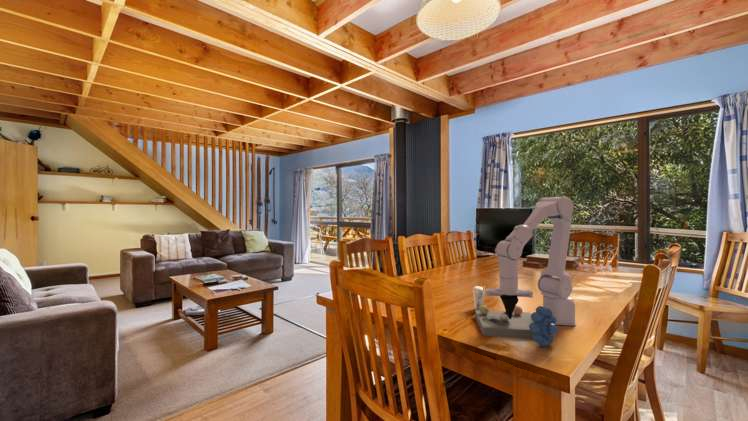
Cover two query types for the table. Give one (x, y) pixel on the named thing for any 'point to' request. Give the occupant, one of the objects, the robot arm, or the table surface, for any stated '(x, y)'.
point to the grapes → (543, 326)
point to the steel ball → (504, 316)
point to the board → (504, 324)
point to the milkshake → (478, 297)
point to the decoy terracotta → (517, 310)
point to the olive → (484, 309)
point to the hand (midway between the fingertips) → (508, 318)
